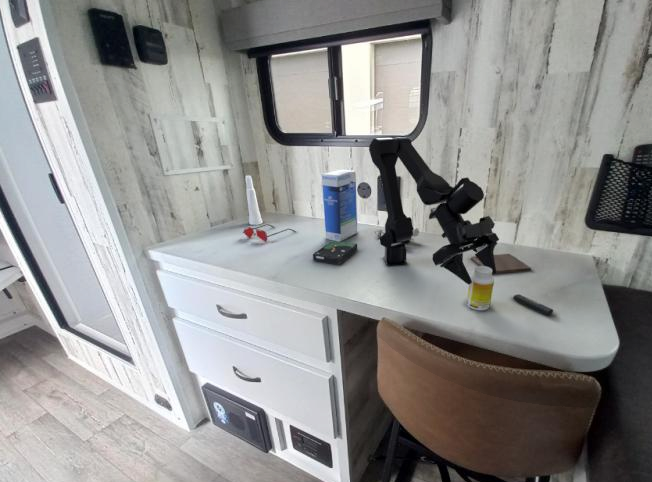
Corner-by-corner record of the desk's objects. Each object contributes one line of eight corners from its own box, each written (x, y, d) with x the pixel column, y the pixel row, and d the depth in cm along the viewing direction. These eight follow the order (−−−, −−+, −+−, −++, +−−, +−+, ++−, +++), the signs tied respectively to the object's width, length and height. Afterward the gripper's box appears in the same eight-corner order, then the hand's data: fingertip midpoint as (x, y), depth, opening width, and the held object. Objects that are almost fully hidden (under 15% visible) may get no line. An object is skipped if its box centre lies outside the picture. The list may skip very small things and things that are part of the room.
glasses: (243, 238, 127) (241, 226, 125) (273, 227, 140) (272, 216, 138) (266, 243, 120) (264, 231, 118) (296, 232, 133) (294, 221, 131)
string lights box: (343, 230, 135) (341, 169, 124) (358, 233, 132) (356, 170, 121) (325, 239, 125) (320, 173, 114) (340, 242, 121) (337, 174, 110)
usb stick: (553, 314, 74) (555, 308, 73) (547, 317, 73) (549, 311, 72) (518, 297, 81) (519, 292, 80) (511, 300, 80) (513, 295, 79)
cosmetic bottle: (252, 221, 150) (244, 174, 140) (264, 221, 149) (257, 174, 140) (247, 224, 144) (238, 176, 135) (259, 225, 144) (251, 176, 134)
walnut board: (489, 274, 94) (489, 271, 93) (470, 259, 104) (471, 256, 104) (530, 270, 96) (531, 267, 95) (508, 256, 106) (509, 253, 106)
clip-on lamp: (370, 247, 123) (409, 247, 112) (366, 233, 121) (405, 231, 110) (385, 237, 132) (423, 235, 121) (382, 223, 129) (420, 220, 118)
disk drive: (340, 266, 101) (357, 250, 113) (339, 258, 100) (357, 243, 112) (312, 261, 104) (332, 246, 117) (312, 254, 103) (332, 239, 116)
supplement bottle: (493, 310, 76) (501, 272, 71) (473, 312, 75) (479, 275, 70) (481, 298, 81) (487, 263, 76) (462, 301, 80) (467, 265, 75)
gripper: (445, 212, 67) (480, 275, 63) (498, 200, 76) (532, 255, 72) (419, 237, 76) (448, 293, 72) (469, 224, 85) (497, 274, 81)
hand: (482, 278), depth 74 cm, fingers open, 9 cm apart
